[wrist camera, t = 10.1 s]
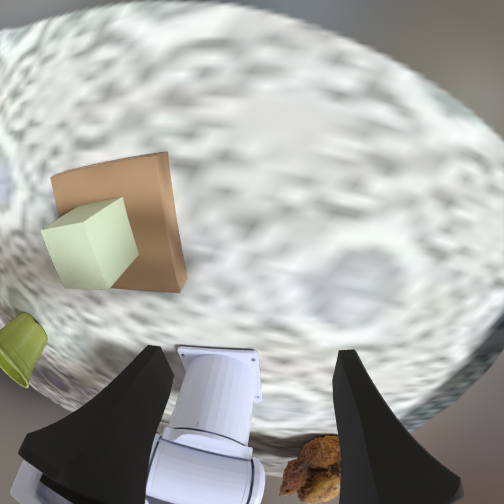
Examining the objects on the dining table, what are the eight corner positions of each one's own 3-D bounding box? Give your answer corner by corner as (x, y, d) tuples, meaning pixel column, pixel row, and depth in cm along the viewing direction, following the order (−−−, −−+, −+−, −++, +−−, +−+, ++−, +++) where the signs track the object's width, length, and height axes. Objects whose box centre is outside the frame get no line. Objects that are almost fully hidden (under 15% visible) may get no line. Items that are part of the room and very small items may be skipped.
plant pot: (7, 298, 28) (-25, 331, 20) (38, 307, 27) (2, 349, 19) (31, 342, 32) (6, 376, 24) (65, 355, 31) (38, 396, 23)
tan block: (189, 275, 22) (179, 292, 20) (95, 271, 23) (82, 285, 21) (170, 150, 17) (155, 155, 15) (69, 169, 18) (50, 177, 16)
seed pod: (301, 458, 24) (256, 503, 27) (404, 474, 22) (345, 518, 24) (306, 398, 37) (270, 450, 39) (389, 420, 34) (344, 468, 37)
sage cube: (139, 254, 18) (108, 289, 14) (95, 257, 19) (64, 288, 15) (122, 196, 16) (83, 222, 12) (78, 206, 17) (40, 230, 13)
